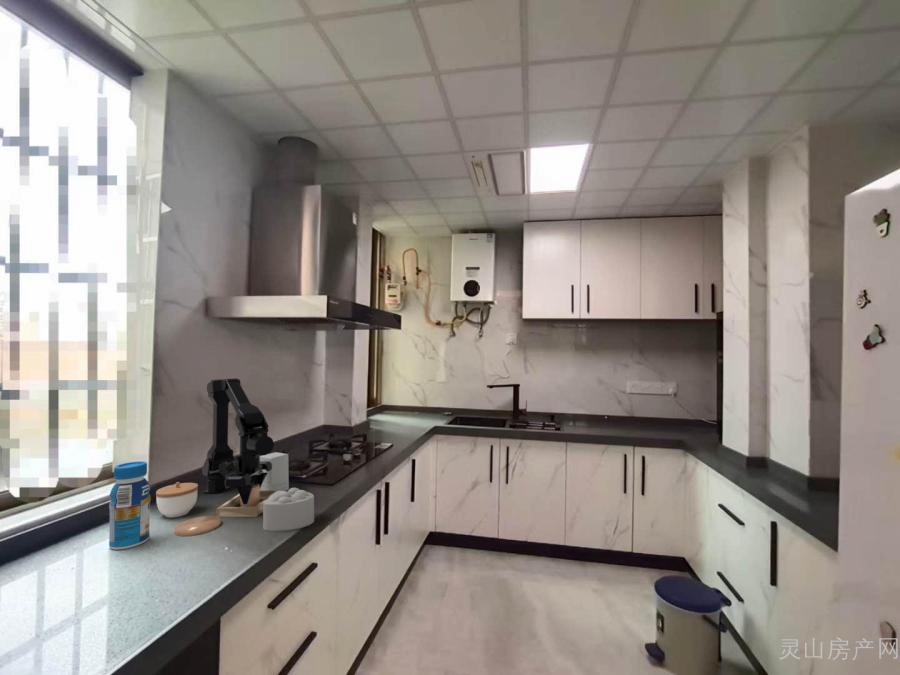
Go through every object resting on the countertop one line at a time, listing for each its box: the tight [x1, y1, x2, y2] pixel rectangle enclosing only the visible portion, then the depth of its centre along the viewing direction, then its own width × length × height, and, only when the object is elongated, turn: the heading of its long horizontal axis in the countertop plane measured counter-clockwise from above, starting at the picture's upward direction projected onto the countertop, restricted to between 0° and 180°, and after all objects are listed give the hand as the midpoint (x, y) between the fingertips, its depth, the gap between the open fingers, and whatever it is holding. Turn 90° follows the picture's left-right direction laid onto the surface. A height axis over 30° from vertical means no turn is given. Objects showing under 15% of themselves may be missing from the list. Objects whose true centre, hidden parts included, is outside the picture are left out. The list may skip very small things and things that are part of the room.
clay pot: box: [239, 484, 260, 507], centre depth 128 cm, size 6×6×6 cm
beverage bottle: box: [108, 460, 152, 551], centre depth 105 cm, size 8×8×20 cm
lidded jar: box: [155, 481, 199, 519], centre depth 124 cm, size 11×11×9 cm
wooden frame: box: [215, 490, 279, 518], centre depth 128 cm, size 16×12×2 cm
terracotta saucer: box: [173, 515, 222, 537], centre depth 113 cm, size 11×11×1 cm
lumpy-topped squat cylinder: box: [262, 487, 315, 532], centre depth 115 cm, size 10×13×9 cm
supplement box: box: [259, 451, 290, 492], centre depth 143 cm, size 7×7×13 cm
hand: (249, 500), depth 128 cm, fingers closed on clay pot, 5 cm apart
